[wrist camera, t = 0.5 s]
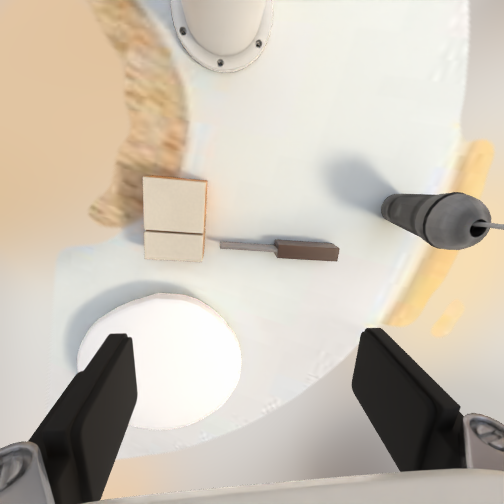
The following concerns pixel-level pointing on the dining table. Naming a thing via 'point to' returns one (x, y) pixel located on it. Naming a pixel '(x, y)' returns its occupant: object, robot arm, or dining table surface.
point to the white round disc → (172, 358)
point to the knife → (291, 249)
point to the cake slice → (174, 245)
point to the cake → (174, 204)
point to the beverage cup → (441, 218)
